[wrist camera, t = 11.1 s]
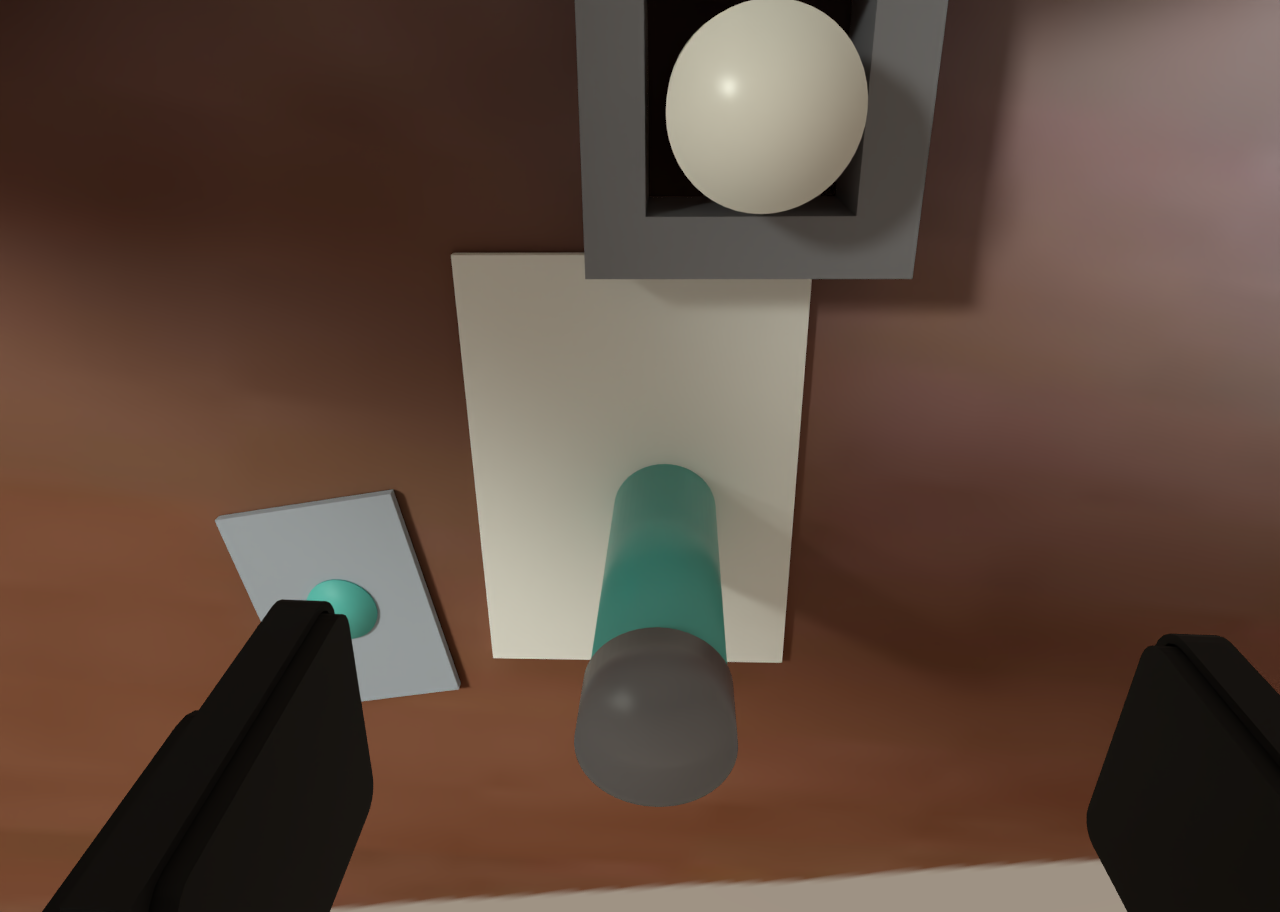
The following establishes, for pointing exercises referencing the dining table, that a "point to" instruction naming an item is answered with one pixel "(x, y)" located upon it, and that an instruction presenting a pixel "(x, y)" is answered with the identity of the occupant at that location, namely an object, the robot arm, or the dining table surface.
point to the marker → (659, 649)
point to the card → (349, 584)
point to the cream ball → (766, 105)
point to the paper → (625, 433)
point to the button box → (744, 242)
